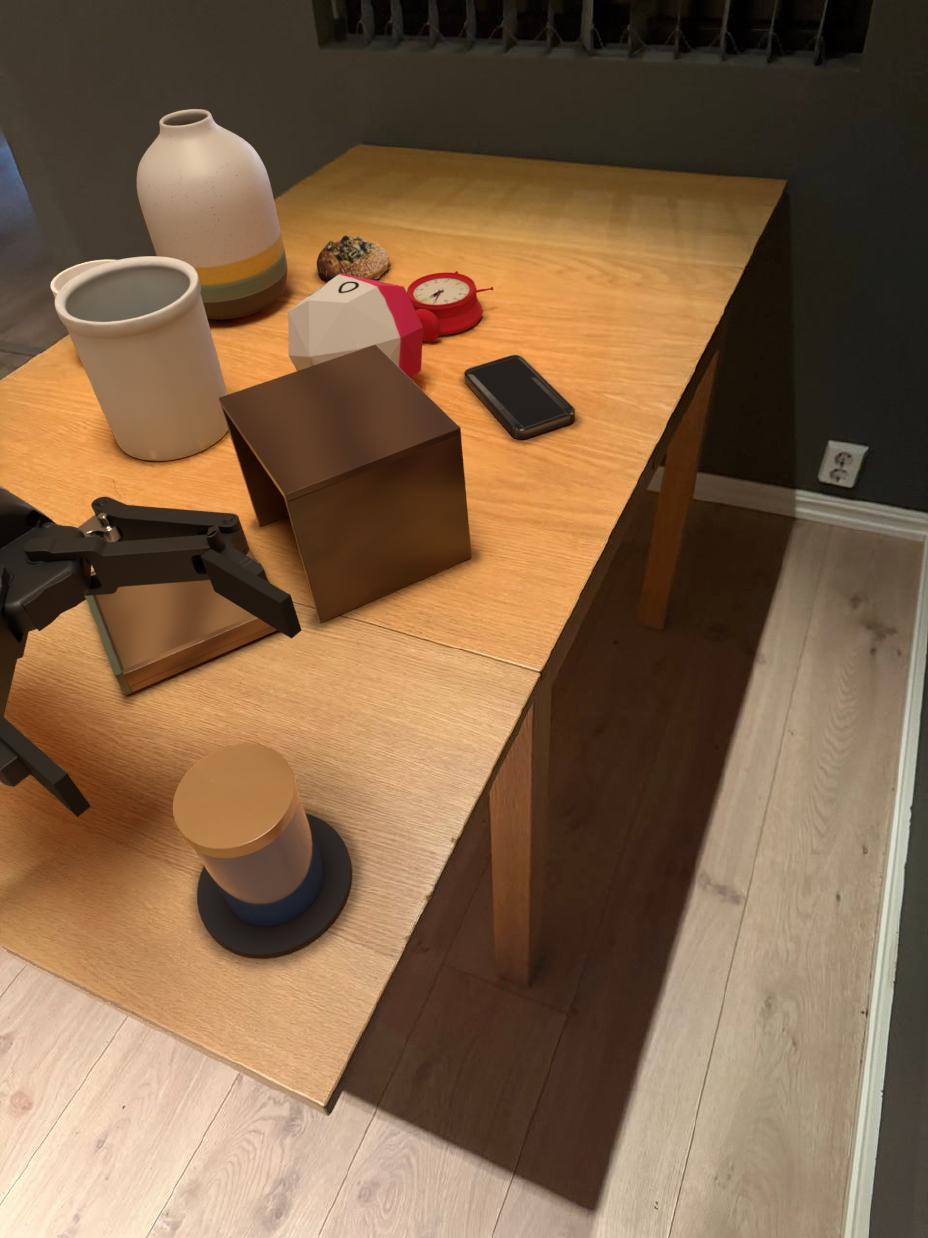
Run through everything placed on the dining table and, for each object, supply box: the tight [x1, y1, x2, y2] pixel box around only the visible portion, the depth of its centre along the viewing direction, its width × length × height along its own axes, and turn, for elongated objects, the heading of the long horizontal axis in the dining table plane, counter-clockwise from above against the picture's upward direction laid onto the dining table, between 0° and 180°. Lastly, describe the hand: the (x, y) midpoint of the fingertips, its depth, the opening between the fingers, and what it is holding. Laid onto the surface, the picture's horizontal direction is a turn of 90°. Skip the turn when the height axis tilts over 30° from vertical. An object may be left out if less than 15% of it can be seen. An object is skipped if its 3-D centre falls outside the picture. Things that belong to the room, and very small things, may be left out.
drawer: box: [85, 547, 278, 696], centre depth 82 cm, size 15×15×3 cm
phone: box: [463, 354, 576, 440], centre depth 103 cm, size 8×1×15 cm
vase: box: [136, 108, 288, 321], centre depth 117 cm, size 17×17×24 cm
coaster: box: [196, 812, 353, 959], centre depth 63 cm, size 11×11×1 cm
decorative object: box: [287, 273, 423, 380], centre depth 102 cm, size 15×15×15 cm
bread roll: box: [316, 234, 390, 282], centre depth 129 cm, size 11×11×5 cm
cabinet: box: [219, 345, 473, 624], centre depth 83 cm, size 16×17×15 cm
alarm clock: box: [406, 271, 494, 342], centre depth 116 cm, size 10×6×15 cm
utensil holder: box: [54, 255, 229, 462], centre depth 98 cm, size 15×15×18 cm
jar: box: [172, 743, 324, 927], centre depth 59 cm, size 8×8×11 cm
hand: (191, 700), depth 43 cm, fingers open, 13 cm apart
